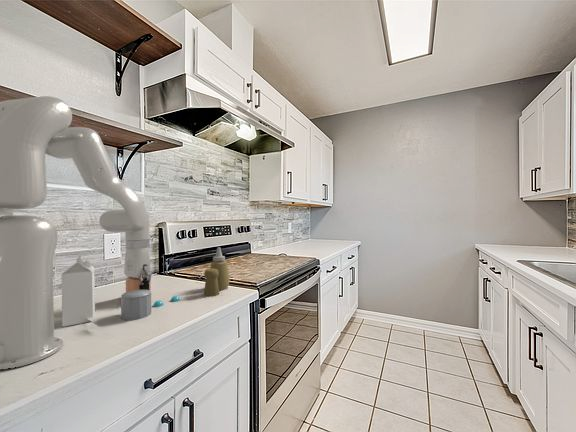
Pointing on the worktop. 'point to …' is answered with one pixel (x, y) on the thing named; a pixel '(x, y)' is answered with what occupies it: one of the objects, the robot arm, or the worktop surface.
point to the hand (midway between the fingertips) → (138, 293)
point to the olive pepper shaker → (211, 283)
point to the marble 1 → (158, 304)
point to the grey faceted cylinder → (135, 304)
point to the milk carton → (78, 293)
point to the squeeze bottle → (221, 270)
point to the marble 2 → (175, 299)
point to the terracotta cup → (134, 284)
